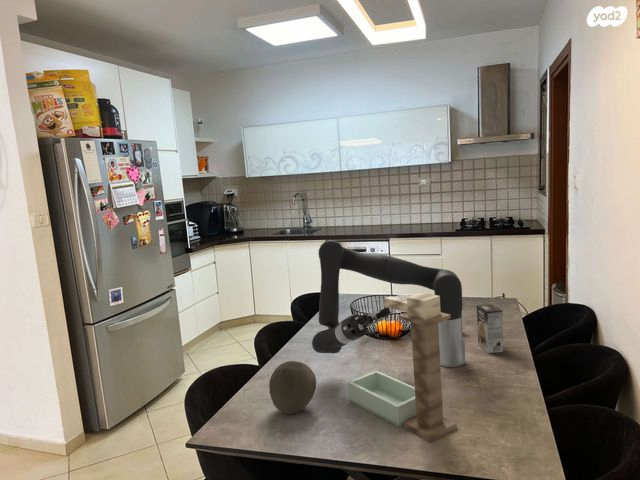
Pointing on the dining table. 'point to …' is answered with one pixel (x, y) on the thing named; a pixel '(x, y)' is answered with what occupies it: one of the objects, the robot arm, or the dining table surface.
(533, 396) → the dining table surface
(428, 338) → the shelf stand
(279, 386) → the cantaloupe
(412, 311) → the peg
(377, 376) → the open box
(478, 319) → the coffee box
